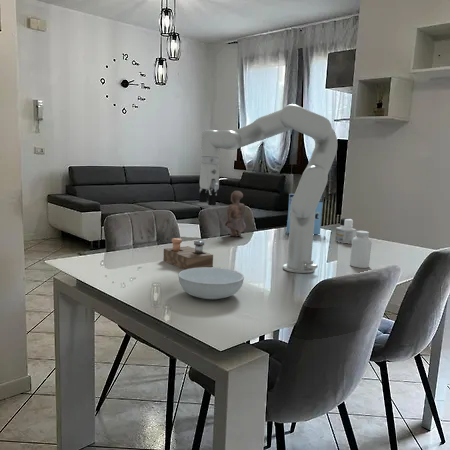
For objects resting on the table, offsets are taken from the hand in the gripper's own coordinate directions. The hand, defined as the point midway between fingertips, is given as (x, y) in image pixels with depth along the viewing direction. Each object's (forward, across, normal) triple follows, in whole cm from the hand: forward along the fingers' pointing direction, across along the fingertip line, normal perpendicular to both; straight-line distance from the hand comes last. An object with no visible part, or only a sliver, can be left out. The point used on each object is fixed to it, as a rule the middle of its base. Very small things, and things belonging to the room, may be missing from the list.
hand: (207, 203), depth 189 cm
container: (+24, +24, -92) cm, 98 cm away
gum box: (+24, +52, -84) cm, 101 cm away
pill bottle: (+24, -23, -62) cm, 70 cm away
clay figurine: (+24, +51, -39) cm, 68 cm away
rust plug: (+20, +1, +12) cm, 23 cm away
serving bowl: (+24, -43, +15) cm, 52 cm away
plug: (+20, -6, +5) cm, 21 cm away
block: (+24, -3, +8) cm, 26 cm away
